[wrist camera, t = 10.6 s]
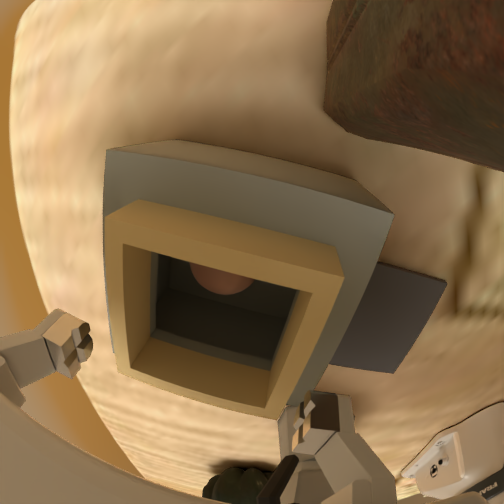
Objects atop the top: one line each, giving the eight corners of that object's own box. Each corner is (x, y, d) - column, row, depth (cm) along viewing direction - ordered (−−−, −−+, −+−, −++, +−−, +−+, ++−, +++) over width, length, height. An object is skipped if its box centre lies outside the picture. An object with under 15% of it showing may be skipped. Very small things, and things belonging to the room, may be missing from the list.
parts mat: (392, 369, 23) (393, 373, 23) (315, 357, 23) (315, 361, 23) (445, 280, 19) (447, 283, 18) (359, 256, 19) (360, 259, 19)
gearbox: (293, 353, 24) (285, 461, 14) (160, 317, 24) (102, 406, 15) (355, 180, 17) (418, 238, 8) (176, 139, 18) (68, 157, 8)
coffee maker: (369, 431, 28) (376, 561, 11) (305, 449, 31) (294, 568, 14) (321, 363, 24) (318, 565, 7) (240, 390, 27) (198, 556, 10)
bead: (282, 229, 17) (242, 248, 14) (266, 290, 19) (227, 319, 16) (224, 206, 19) (177, 218, 16) (215, 264, 21) (171, 284, 17)
